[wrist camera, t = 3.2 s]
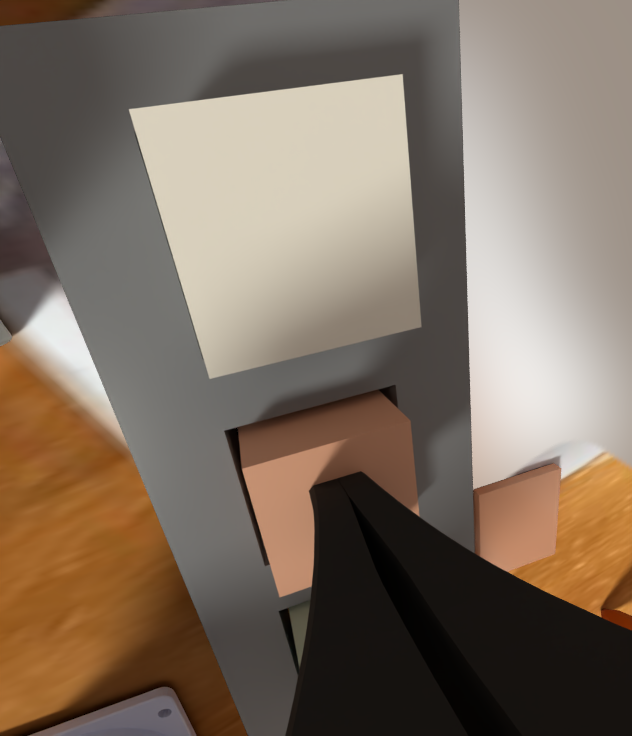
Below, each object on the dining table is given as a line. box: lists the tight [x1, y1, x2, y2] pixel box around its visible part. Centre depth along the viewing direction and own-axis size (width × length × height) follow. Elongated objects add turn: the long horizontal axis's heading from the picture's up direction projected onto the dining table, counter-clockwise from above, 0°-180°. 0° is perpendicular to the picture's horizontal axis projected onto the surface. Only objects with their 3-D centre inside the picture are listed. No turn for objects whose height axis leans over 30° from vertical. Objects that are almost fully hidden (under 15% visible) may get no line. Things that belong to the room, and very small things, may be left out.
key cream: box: [129, 74, 421, 379], centre depth 8 cm, size 4×4×4 cm
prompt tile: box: [473, 463, 561, 572], centre depth 17 cm, size 5×4×1 cm
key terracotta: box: [238, 390, 420, 597], centre depth 11 cm, size 4×4×4 cm
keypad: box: [0, 0, 475, 736], centre depth 12 cm, size 21×9×3 cm, turn 10°
